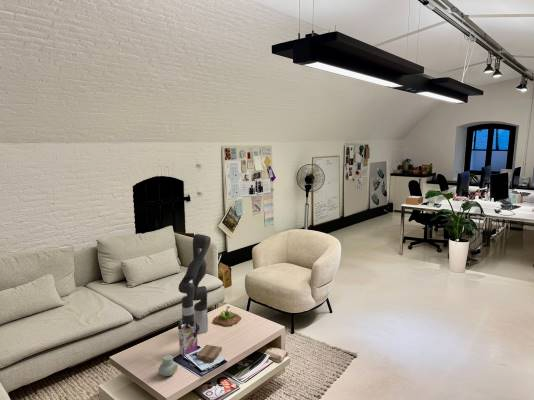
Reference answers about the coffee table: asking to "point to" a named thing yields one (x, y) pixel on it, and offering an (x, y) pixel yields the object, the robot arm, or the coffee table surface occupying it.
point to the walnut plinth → (209, 353)
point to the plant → (227, 319)
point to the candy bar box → (187, 341)
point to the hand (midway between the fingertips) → (189, 336)
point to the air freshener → (168, 366)
